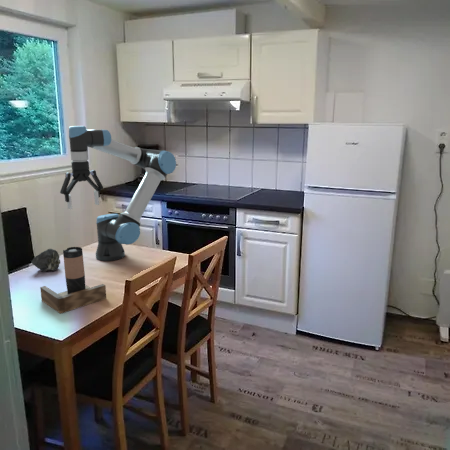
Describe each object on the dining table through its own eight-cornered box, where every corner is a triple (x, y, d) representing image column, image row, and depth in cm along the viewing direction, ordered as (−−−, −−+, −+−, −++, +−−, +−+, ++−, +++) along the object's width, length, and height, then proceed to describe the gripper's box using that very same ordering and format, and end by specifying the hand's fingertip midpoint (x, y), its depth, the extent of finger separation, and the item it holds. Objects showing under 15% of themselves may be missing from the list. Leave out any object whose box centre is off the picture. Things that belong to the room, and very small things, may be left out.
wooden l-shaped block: (86, 287, 194) (85, 274, 193) (106, 298, 183) (105, 285, 181) (41, 300, 181) (40, 287, 179) (60, 313, 169) (58, 299, 167)
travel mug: (87, 296, 182) (83, 250, 177) (68, 299, 179) (63, 253, 174) (85, 290, 189) (81, 245, 184) (66, 293, 186) (61, 248, 181)
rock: (54, 258, 224) (50, 244, 217) (67, 267, 220) (63, 253, 213) (34, 273, 216) (29, 259, 209) (47, 282, 212) (42, 267, 205)
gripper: (100, 158, 210) (103, 201, 215) (49, 162, 193) (54, 209, 198) (108, 159, 204) (111, 203, 210) (57, 163, 187) (61, 212, 193)
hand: (83, 206), depth 204 cm, fingers open, 13 cm apart
